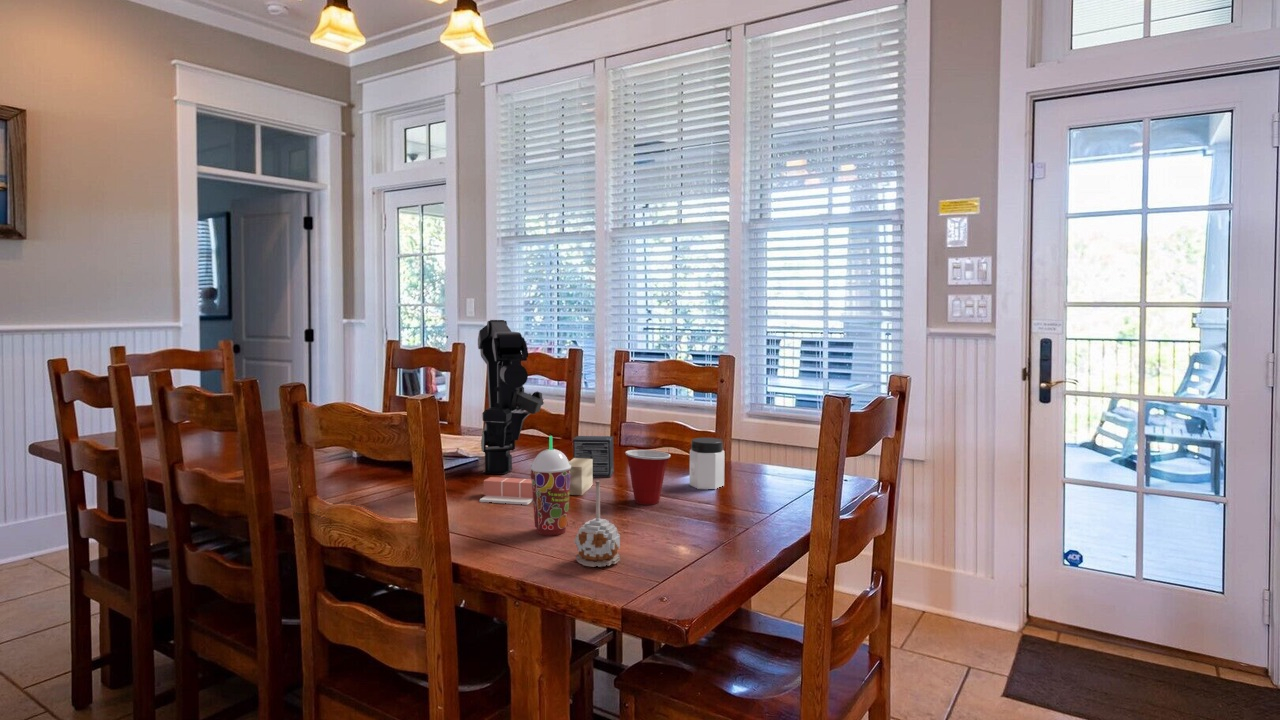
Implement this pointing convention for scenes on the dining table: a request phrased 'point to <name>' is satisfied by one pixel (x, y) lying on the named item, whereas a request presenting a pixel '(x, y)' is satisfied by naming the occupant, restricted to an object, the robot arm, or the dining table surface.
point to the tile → (506, 499)
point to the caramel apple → (597, 540)
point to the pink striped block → (508, 487)
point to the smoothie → (551, 491)
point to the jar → (706, 463)
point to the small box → (596, 453)
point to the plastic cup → (647, 474)
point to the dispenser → (581, 475)
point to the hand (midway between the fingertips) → (509, 443)
